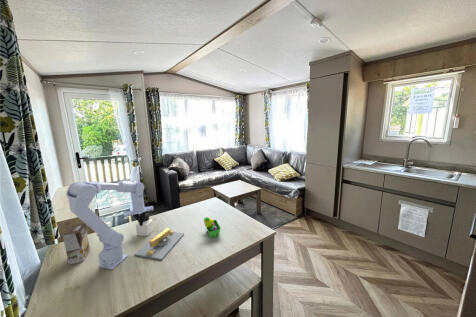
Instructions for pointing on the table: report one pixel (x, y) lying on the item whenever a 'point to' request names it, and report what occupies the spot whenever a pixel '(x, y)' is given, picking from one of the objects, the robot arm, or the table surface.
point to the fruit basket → (212, 227)
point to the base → (160, 247)
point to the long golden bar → (160, 238)
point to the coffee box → (76, 243)
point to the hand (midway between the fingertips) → (141, 225)
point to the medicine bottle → (145, 226)
